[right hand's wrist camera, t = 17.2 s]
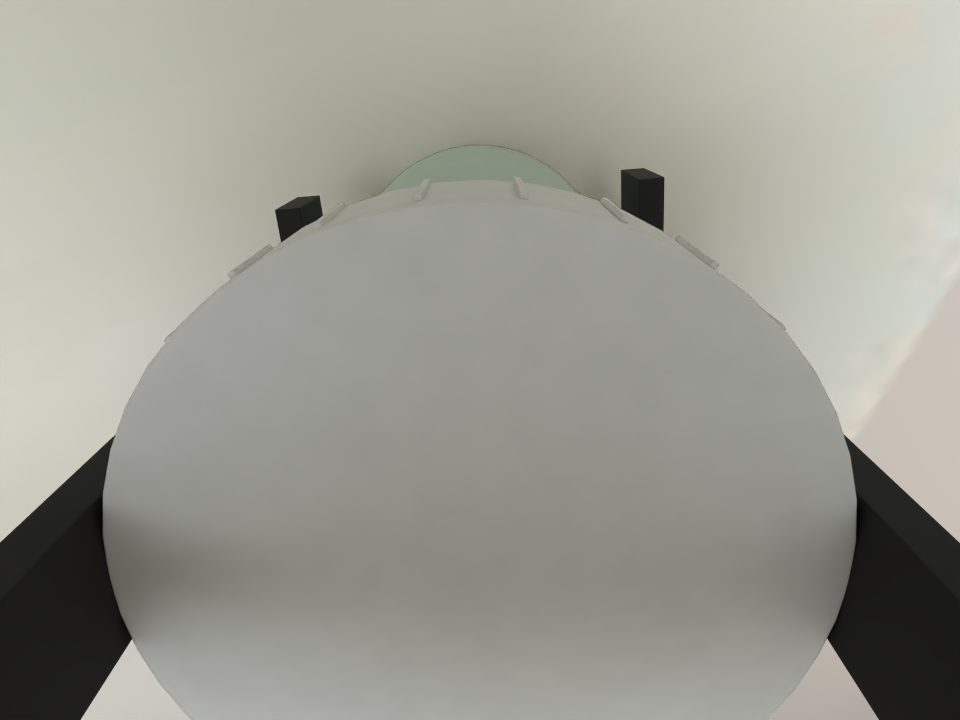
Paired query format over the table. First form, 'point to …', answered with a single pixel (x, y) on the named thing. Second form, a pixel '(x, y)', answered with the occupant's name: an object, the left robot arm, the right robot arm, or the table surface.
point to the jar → (479, 168)
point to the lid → (479, 476)
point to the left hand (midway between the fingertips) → (468, 187)
